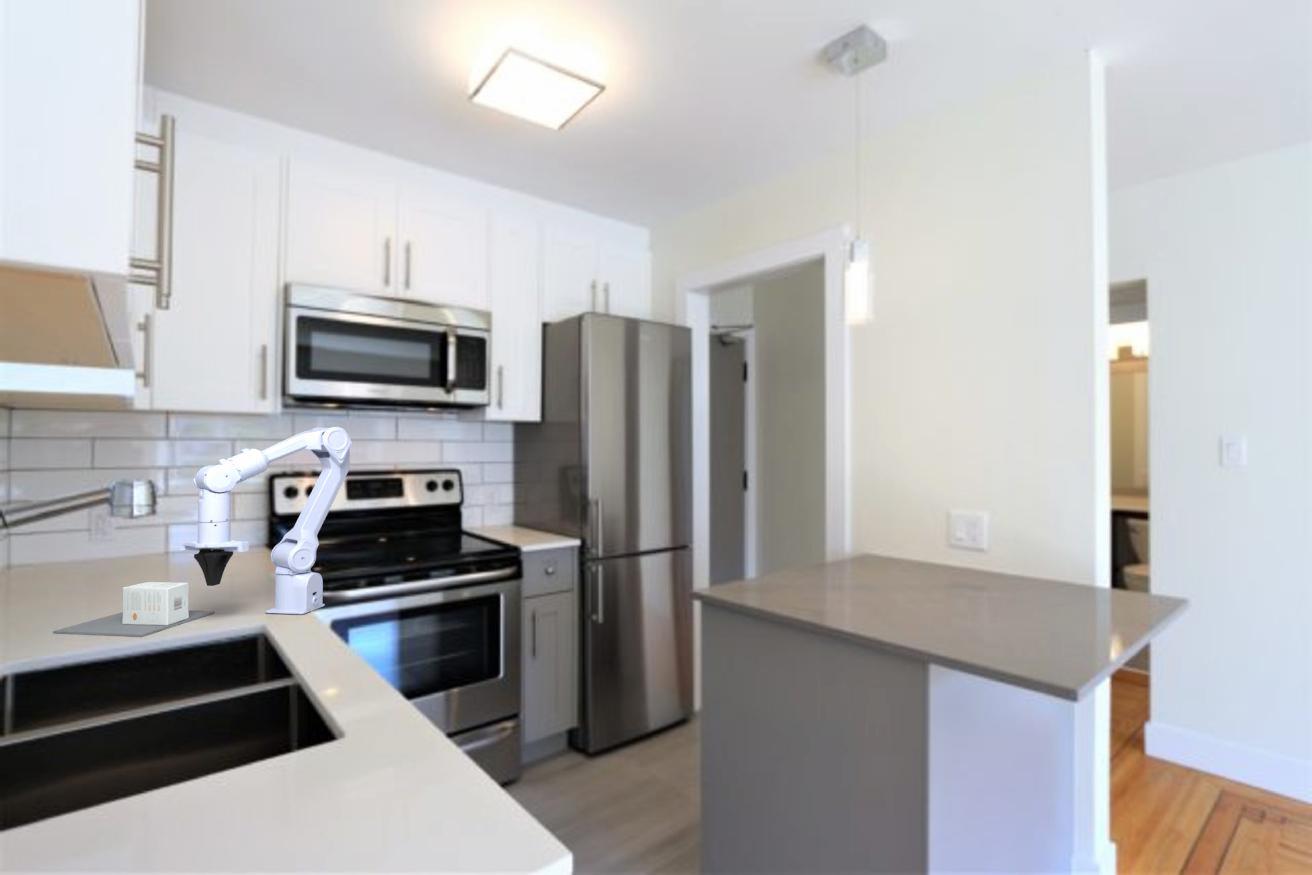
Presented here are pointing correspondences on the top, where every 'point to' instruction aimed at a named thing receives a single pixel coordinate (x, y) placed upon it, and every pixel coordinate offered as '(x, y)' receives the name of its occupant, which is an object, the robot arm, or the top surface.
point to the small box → (155, 603)
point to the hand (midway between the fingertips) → (213, 584)
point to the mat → (123, 626)
